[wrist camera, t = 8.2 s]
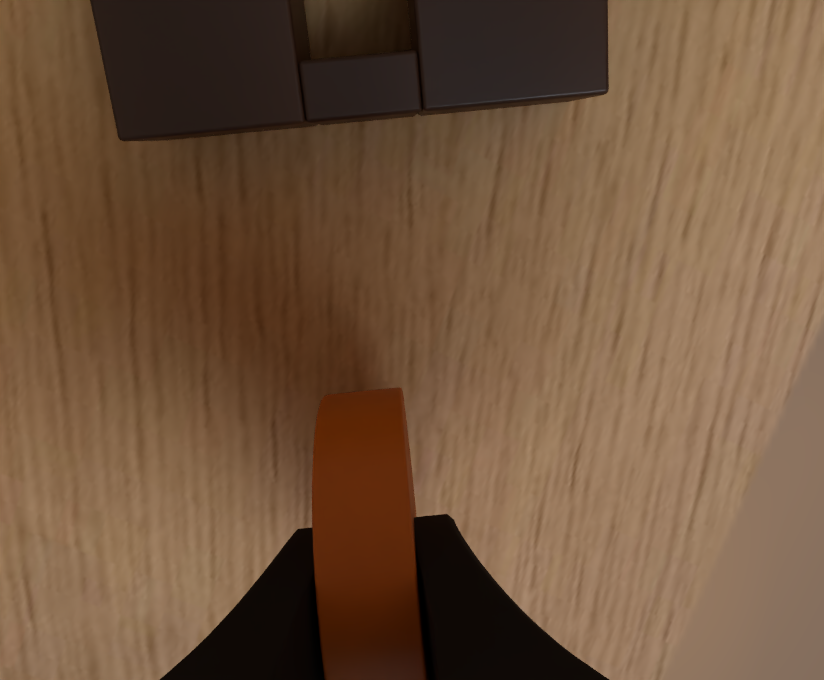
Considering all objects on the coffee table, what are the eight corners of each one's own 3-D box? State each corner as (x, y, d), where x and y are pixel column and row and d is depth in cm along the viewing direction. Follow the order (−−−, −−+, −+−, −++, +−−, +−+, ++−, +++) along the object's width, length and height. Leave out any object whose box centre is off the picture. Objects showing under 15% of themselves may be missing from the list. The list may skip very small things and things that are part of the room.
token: (398, 345, 14) (406, 487, 9) (424, 590, 16) (444, 845, 10) (331, 352, 14) (294, 498, 9) (364, 597, 16) (351, 855, 10)
